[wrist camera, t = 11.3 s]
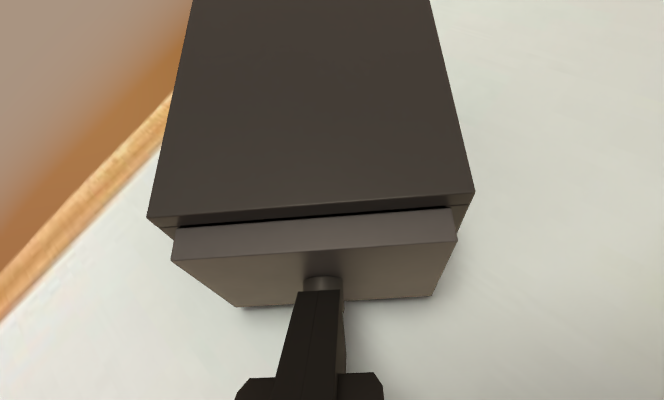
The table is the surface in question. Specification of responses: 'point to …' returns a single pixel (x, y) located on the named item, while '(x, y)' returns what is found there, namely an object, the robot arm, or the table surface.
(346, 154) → the dark brown boxy block
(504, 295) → the table surface
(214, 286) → the drawer
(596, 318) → the table surface
